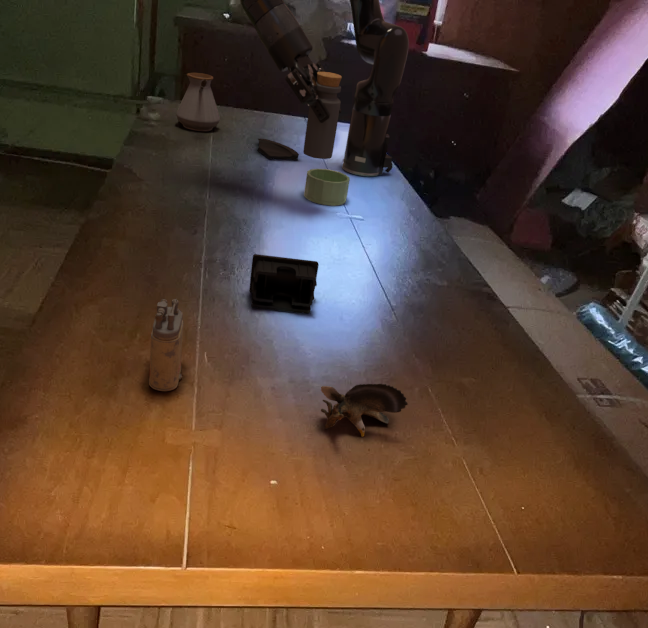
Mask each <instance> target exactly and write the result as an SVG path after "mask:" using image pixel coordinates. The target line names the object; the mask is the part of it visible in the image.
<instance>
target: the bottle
mask: <svg viewBox="0 0 648 628" xmlns="http://www.w3.org/2000/svg"><path fill="white" fill-rule="evenodd" d="M342 78H343V77H342V75H340V74H338V73H335V72H329V71H325V72H318V73H317V82H316V83H317V89H316V90H317V93H318V95H319V98H320V99H321V101H322V102H323V104H324V106H325V107H326V109H327V111H328V112H329V114H330V118H329V119H328V120H326V121H325V122H323V123H320V121H319V120H318V118H317V116H316V115H315V113H314V112H313V110H312V108H311V106H310V107H309V106H308V113H307V115H308V116H307V120H306V128H305V135H304V143H303V149H302V150H303V154H304V155H305V156H307V157H308V158H309V157H310V158H313V159H318V160H328V159H331V158H333V154H334V153H333V152H334V149H335V148H334V147H335V141H336V135H337V129H338V122H339V115H340V114H339V110H340V108H341V100H340V99H339V98H338V94H340V93H341V90H342V86H341V85H340V83H341V80H342ZM320 99H319V100H320Z"/></svg>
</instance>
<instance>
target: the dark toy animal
mask: <svg viewBox="0 0 648 628" xmlns="http://www.w3.org/2000/svg"><path fill="white" fill-rule="evenodd" d="M320 391H321V393H322V394H323V395H324V396H325V398H327V400H326V399H322V402H323V403H325V404H326V407H327V409H325V408H321V409H320V411H321V413H323V414H324V415H325V417H326V423H325V425H324V429H325V430H327V429H330V428H332V427H334V426H335V425H336V423H337V422H338V421H341V420H342V419H343V418H347V419H348V420H349V421H350V423H351V424H352V425H354V427H356V429H357V431H358V432H359V433H360V436H361V437H360V438H363V437H365V432H366V426H365V424H364V422H363V419H362V416H363V415H365V416H367V417H371V418H373V419H376V420H378V421H380V422H382V423H384V424H386V425H389V423H390V419H389V417H388V416H387V415H385V414H384V413H385V412H386V413H392V414H393V413H394V414H396V413H401V412H402V410H403V409H405V408H406V407H407V406H408V405H409V404H408V402H407V397H406V396H405V394H404V393H403V392H402V390H400V389H398V388H397V387H394V386H393V385H392V386H391V385H390V384H386V383H361V384H360V383H359V384H356V385H354V386H352V388H350V389H349V390H348V391H347V392H346V393H345V394H342V393H340V392H338V391H337V389H336V388H335V387H333V386H330V385H322V386H320ZM328 400H330V401H333V402H336V403H335V404H334V405H333V404H332V403H331V402H330V401H328Z"/></svg>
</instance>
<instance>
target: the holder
mask: <svg viewBox="0 0 648 628" xmlns="http://www.w3.org/2000/svg"><path fill="white" fill-rule="evenodd" d="M350 179H351V178H350V177H349V176H348V175H347V174H345V173H343V172H341V171H337V170H333V169H329V168H311V169H309V170H307V172H306V178H305V183H304V192H303V197H304V198H305V199H306V200H308V201H310V202H313V203H314V204H319V205H323V206H324V205H325V206H332V207H336V206H342V205H344V204H346V202H347V198H348V193H349V187H350V182H351V180H350Z"/></svg>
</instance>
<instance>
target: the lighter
mask: <svg viewBox="0 0 648 628" xmlns="http://www.w3.org/2000/svg"><path fill="white" fill-rule="evenodd" d="M179 301H180V300H179V299H177V298H173V299H172V300H171V306H169V305H168V300H167V299H166V298H162V299H161V300H160V301H158V302H157V304H156V313H155V315H154V321H153V323H152V331H151V334H150V355H149V380H148V386H150V387H151V388H152V389H153V390H155V391H160V392H170V391H173V390H175V389H176V388H177V387H178V385H179V381H181V379H183V375H182V373H181V372H182V356H183V355H182V353H183V339H184V323H185V322H184V320H183V317H184V315H183V311H182V310H180V308H178V307H179V304H180V302H179Z"/></svg>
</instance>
